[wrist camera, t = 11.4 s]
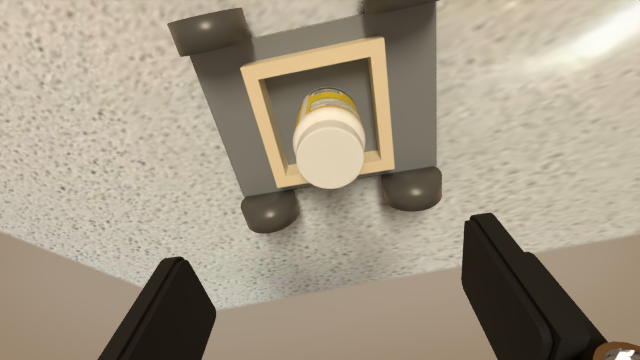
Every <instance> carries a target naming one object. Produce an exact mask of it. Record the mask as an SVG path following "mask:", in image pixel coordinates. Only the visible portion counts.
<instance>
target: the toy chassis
mask: <svg viewBox="0 0 640 360" xmlns="http://www.w3.org/2000/svg"><path fill="white" fill-rule="evenodd" d="M436 1H439V0H363V7H364V14H359V15H355V16H350V17H346V18H341V19H337V20H332V21H327V22H323V23H318V24H314V25H309V26H305V27H300V28H296V29H291V30H287V31H282V32H277V33H273V34H268V35H264V36H259V37H255V38H250V35H249V31H248V28H247V24H246V20H245V17H244V13H243V10H242V8H235V9H229V10H223V11H218V12H213V13H208V14H204V15H199V16H195V17H190V18H186V19H182V20H178V21H175V22H171V23H168V24H167V25H168V27H169V30H170V32H171V35H172V37H173V40H174V42H175V45H176V47H177V50H178V52H179V55H180V57H182V56H189V55H190V58H191V61H192V63H193V66H194V68H195V71H196V74H197V76H198V79H199V81H200V84H201V87H202V89H203V92H204V94H205V97H206V100H207V102H208V105H209V107H210V110H211V113H212V115H213V118H214V120H215V123H216V126H217V128H218V131H219V133H220V136H221V139H222V141H223V144H224V146H225V149H226V152H227V154H228V157H229V159H230V162H231V164H232V167H233V170H234V172H235V175H236V177H237V180H238V183H239V185H240V188H241V190H242V193H243V196H244V197H245V198H244V199H243V201H242V203H241V210H242V212H243V215H244V217H245V220H246V222H247V225H248V227H249V229H250V230H252V231H253V232H256V233H272V232H276V231H279V230H281V229H284V228H285V227H287V226H289V225H290V224H291V223H292V222H293V221H294V220H295V219H296V218H297V216H298V214H299V208H298V204H297V201H296V197H295V194H294V190H293V189H295V188H301V187H308V186H314V185H312V184H311V183H309V182H308V181H307V180H306V179H305V178H304V177H303V176H302V175H301V173H300V172H299V170H298V167H297V163H296V155H295V153H294V149H293V135H294V131H295V127H296V123H297V118H298V113H299V109H300V106H301V104H302V102H303V100H304V99H305V97H306V96H307V95H308V94H309V93H311V92H312V91H314V90H316V89H318V88H321V87H335V88H338V89H341V90H343V91H344V92H346V93H347V94H348V95H349V96H350V97H351V98H352V100H353V101H354V103H355V106H356V108H357V111H358V114H359V117H360V120H361V123H362V126H363V129H364V132H365V139H366V143H365V150H364V164H363V167H362V170H361V172H360V173H359V175H358V176H357V177H356V178H355V179H357V178H363V177H369V176H375V175H382V174H383V175H382V185H383V194H384V200H385V201H386V203H387V204H388V205H390V206H391V207H393V208H395V209H398V210H402V211H422V210H426V209H429V208H431V207H433V206H435V205H436V204H437V203H438V202H439V201H440V200H441V197H442V174H441V171H440V170H439V169H438V168H437V167H435V166H437V164H436Z"/></svg>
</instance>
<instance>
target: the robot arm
mask: <svg viewBox="0 0 640 360" xmlns="http://www.w3.org/2000/svg"><path fill="white" fill-rule="evenodd" d="M461 279H462V286H463V289H464V291H465V293H466V295H467V297H468V299H469V301H470V304H471V305H472V308H473V310H474V312H475V314H476V316H477V318H478V320H479V322H480V324H481V326H482V328H483V330H484V332H485V334H486V336H487V338H488V340H489V342H490V345H491V346H492V349H493V351H494V353H495V355H496V357H497V359H498V360H640V347H639V346H636V345H633V344H629V343H625V342H607V340H606V339H605V338H604V337H603V336H602V334H601V333H600V332H599V331H598V330H597V328H596V327H595V326H594V325H593V324H592V323H591V321H590V320H589V319H588V318H587V317H586V315H585V314H584V313H583V312H582V311H581V309H580V308H579V307H578V306H577V305H576V304H575V302H574V301H573V300H572V299H571V298H570V296H569V295H568V294H567V293H566V292H565V290H564V289H563V288H562V287H561V286H560V285H559V283H558V282H557V281H556V280H555V279H554V277H553V276H552V275H551V274H550V273H549V271H548V270H547V269H546V268H545V267H544V265H543V264H542V263H541V262H540V261H539V260H538V258H537V257H536V256H535V255H534V254H532V253H530V252H523V250H522V249H521V248H520V247H519V245H518V244H517V243H516V242H515V240H514V239H513V238H512V237H511V235H510V234H509V233H508V232H507V230H506V229H505V228H504V227H503V226H502V224H501V223H500V222H499V221H498V219H497V218H496V217H495V216H494V215H493V214H492V213H485V214H478V215H472V216H471V217H470V220H469V221H465V224H464V242H463V260H462V277H461ZM215 319H216V309H215V307H214V305H213V304H212V302H211V300H210V298H209V297H208V295H207V293H206V291H205V289H204V288H203V286H202V284H201V282H200V281H199V279H198V277H197V275H196V274H195V272H194V270H193V268H192V266H191V265H190V263H189V262H188V261H187V260H184V258H183V257H172V258H165V259H163V260H162V261H161V262H160V263H159V265H158V266H157V268H156V270H155V271H154V273H153V274H152V276H151V277H150V279H149V280H148V282H147V284H146V285H145V287H144V288H143V290H142V291H141V293H140V294H139V296H138V298H137V299H136V301H135V302H134V304H133V305H132V307H131V309H130V310H129V312H128V313H127V315H126V316H125V318H124V319H123V321H122V322H121V324H120V326H119V327H118V329H117V330H116V332H115V333H114V335H113V337H112V338H111V340H110V341H109V343H108V344H107V346H106V347H105V349H104V351H103V352H102V354H101V355H100V357H99V358H98V360H201V359H202V356H203V353H204V351H205V348H206V345H207V342H208V339H209V336H210V333H211V330H212V328H213V325H214V322H215Z"/></svg>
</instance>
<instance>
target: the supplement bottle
mask: <svg viewBox="0 0 640 360" xmlns="http://www.w3.org/2000/svg"><path fill="white" fill-rule="evenodd" d="M365 143H366V139H365V132H364V129H363V126H362V123H361V120H360V117H359V114H358V111H357V108H356V106H355V103H354V101H353V100H352V98H351V97H350V96H349V95H348V94H347V93H346V92H344V91H343V90H341V89H338V88H335V87H321V88H318V89H316V90H314V91H312V92H311V93H309V94H308V95H307V96H306V97H305V99H304V100H303V102H302V104H301V106H300V109H299V113H298V118H297V123H296V127H295V131H294V135H293V149H294V153H295V155H296V163H297V167H298V170H299V172H300V173H301V175H302V176H303V177H304V178H305V179H306V180H307V181H308V182H309V183H311V184H312V185H314V186H317V187H319V188H324V189H336V188H340V187H343V186H345V185H347V184H349V183H351V182H352V181H353V180H354V179H355V178H356V177H357V176H358V175H359V173H360V172H361V170H362V167H363V164H364V150H365Z"/></svg>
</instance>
